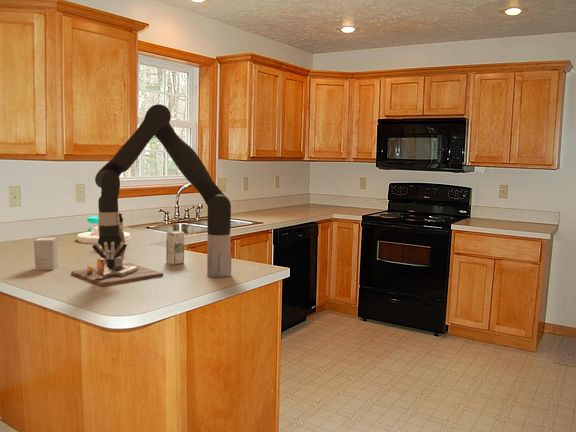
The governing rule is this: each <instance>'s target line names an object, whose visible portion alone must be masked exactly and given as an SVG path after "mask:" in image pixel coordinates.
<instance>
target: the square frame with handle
mask: <svg viewBox="0 0 576 432" xmlns="http://www.w3.org/2000/svg"><path fill="white" fill-rule="evenodd" d="M96 262H97V264H96V265H97V266H96V268H97V270H96V271H95V274H97V275H95V278H96V279H104V278H106V277H109V276H111V275H118V276H124V275H126V274H129V273H131V272H134V271H136V270H138V267H135V266H123V265H122V270H120V271H119V270H112V269H109V267H108V268H107V267H105V258H98V259H97V258H96Z"/></svg>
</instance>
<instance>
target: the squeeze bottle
mask: <svg viewBox="0 0 576 432" xmlns="http://www.w3.org/2000/svg"><path fill="white" fill-rule="evenodd" d="M121 230H122V227H120V237H121V239H122V242H124V243H126V241H125V238H124V232H125V231H124V230H123V231H121ZM120 245H121V244H119V246H118V247H117V249H115V254H117V253H118V251H119V250H120V249H121V247H120ZM126 249H127V247H126V248H125V249H124V251H123V252H122V253H121V254H120V256H119V257H122V258H124V255H125V253H126ZM110 258H111V250H110Z"/></svg>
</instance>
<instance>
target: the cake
mask: <svg viewBox="0 0 576 432" xmlns="http://www.w3.org/2000/svg"><path fill="white" fill-rule="evenodd" d="M91 228H93V226H92V227H91ZM91 231H92V232H87V231H86V232H81V233H78V234H77V242H79V243H83V244H92V245H94V244H96V243H97V242H98V239H99V224H98V223H97V226H94V228H93V229H91ZM123 232H124V238H125V242H129V241H130V240H131V234H130V232H126V231H123Z"/></svg>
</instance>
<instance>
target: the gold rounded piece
mask: <svg viewBox="0 0 576 432" xmlns="http://www.w3.org/2000/svg"><path fill="white" fill-rule="evenodd" d="M93 268H94V266H93V265H87V267H86V269H87V274H93Z"/></svg>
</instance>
